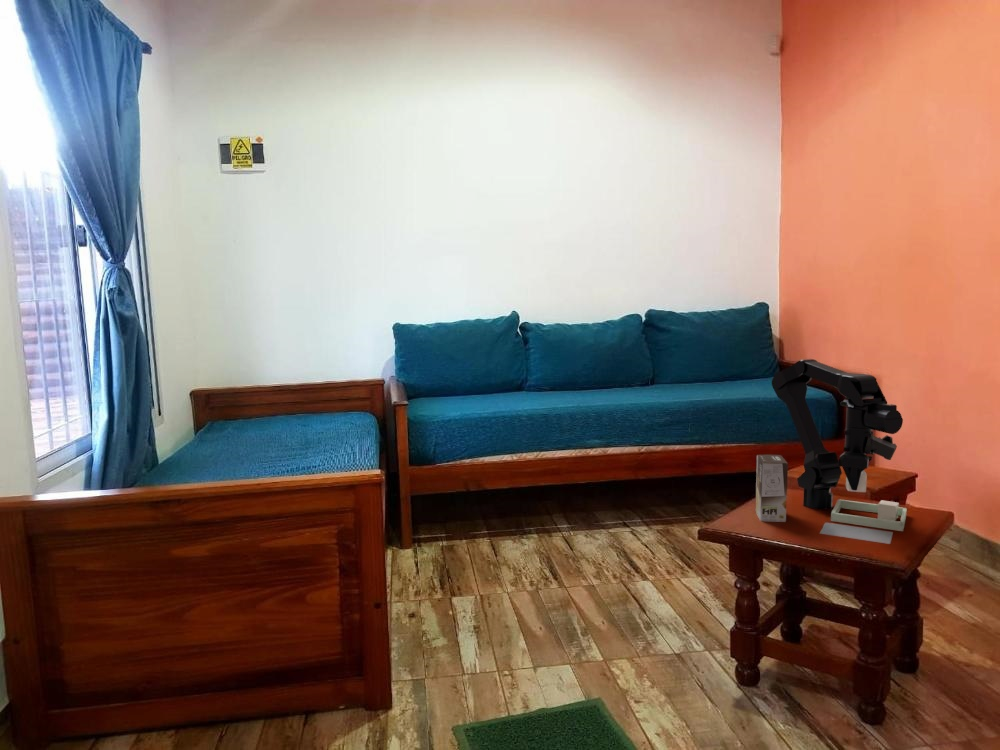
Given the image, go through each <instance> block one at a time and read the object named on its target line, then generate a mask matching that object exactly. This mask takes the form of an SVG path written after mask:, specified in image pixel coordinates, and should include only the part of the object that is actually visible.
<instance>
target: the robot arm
mask: <svg viewBox="0 0 1000 750" xmlns="http://www.w3.org/2000/svg"><path fill="white" fill-rule="evenodd" d="M812 379H814V380H816V381H819V382H822V383H823V384H825V385H828V386H831V387H834V388H836V390H837V391H838V393H839V394H840V395H842V396H843V397H845V398H844V399H843V400H842V401H841V402H840V403H839V405H840V406H842V407H846V415H845V417H846V418H845V429H844V432H843V433H844V434H843V435H844V436H845V437H844V438H845V439H844V446H843V453H841V454H840V455H839V457H838V454H837V453H836V452H835V451H830V452H829V450H827V449H826V448H825V445H824V443H823V441H822V440H823V439H822V438H821V435H820V433H819V430H818V428H817V425H816V423H815V420H814V418H813V415H812V413H811V409H810V408H809V405H808V402H807V399H806V397H807V392H808V386H807V385H808V383H809V382H811V381H812ZM771 386H772V388H773V391H774V392H775V394H776V396H777V398H778V399H780V400H781V402H783V403H784V404H785V405H786V407H787V408H788V411H789V415H790V416H791V420H792V422H793V425H794V427H795V429H796V432H797V435H798V437H799V440H800V443H801V445H802V448H803V451H804V453H805V455H804V456H805V457H804V461H803V468H804V472H803V473H802V474H800V475H799V477H798V476H797V480H796V481H797V485H798V487H799V488H801V489H802V488H803V495H802V496H803V498H802V499H803V500H802V501H803V502H802V506H803V507H807V508H809V509H812V510H832V508H833V500H834V499H833V498H834V497H833V496H834V493H833V492H831V490H832V489H831V488H837V486H838V483H839V480H840V479H841V476H842V473H843V472H844V474H845V478H846V477H847V479H848V481H849V484H850V486H851V489H852V490H857V487H858V484H859V480H860V476H861V472H862V471H863V470H864V471H865V470H866V469H868V468H869V466H870V464H869V462H870V461H872V458H873V456H874V454H876V455H878V456H880V457H883V459H885V460H887V461H891V460H892V458H893V456H894V454H895V452H896V450H897V447H898V446H897V444H896V443H894V442H893V441H894V440H893V437H892V436H889V435H888V434H890V435H895V434H897V433H899V431H900V430H901V428H902V426H903V423H904V422H903V421H904V419H903V417H902V416H903V415H902V414H901V412H900V411H899V410H897V409H898V408H897V404H891V403H889V404H888V400H887V399H886V396H885V395H884V392H883V391H882V389H881V387H880V385H879V383H878V382H877V378H876V377H875V376H874V375H871V374H866V373H855V372H847V371H844V370H841V369H839V368H836V367H833V366H831V365H827V364H825V363H822V362H819V361H817V360H816V359H812V358H808V359H807V358H806V359H799V360H798V361H796V362H795V363H794V364H792V365H790V366H789V367H786V368H784V369H782V370H781V371H779V372H778V371H777V372H776V373H775V374H774V375H773V378H772V379H771ZM874 431H877V432H880V433H885V434H887V435H885V436H883V437H877V436H874ZM871 455H873V456H871ZM841 467H842V469H843V470H842V469H841ZM842 471H843V472H842Z"/></svg>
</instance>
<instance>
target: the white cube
mask: <svg viewBox="0 0 1000 750" xmlns="http://www.w3.org/2000/svg"><path fill="white" fill-rule="evenodd" d="M867 477H868V474H867V473H866V471H865V470H863V471H862V472H861V476H860V480H859V484H858V487H857V490H852V489H851V486H850V484H849V481H848V479H847V477H846V476H845V488H846V490H847V492H853V493H854V492H855V493H856V492H857V493H866V492H867V481H868V480H867V479H868V478H867Z"/></svg>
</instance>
